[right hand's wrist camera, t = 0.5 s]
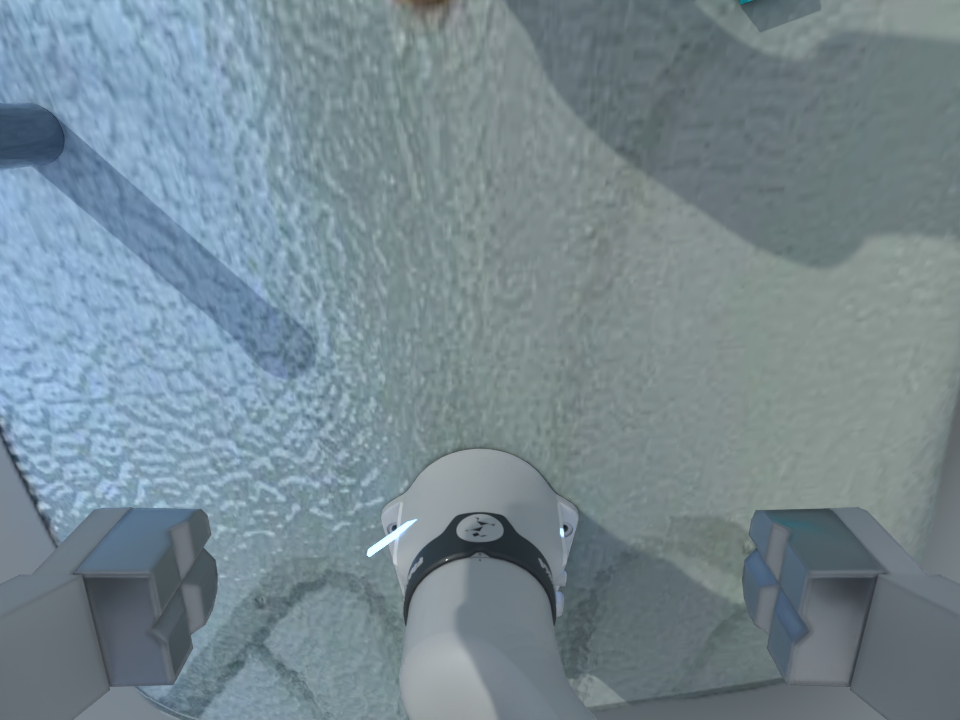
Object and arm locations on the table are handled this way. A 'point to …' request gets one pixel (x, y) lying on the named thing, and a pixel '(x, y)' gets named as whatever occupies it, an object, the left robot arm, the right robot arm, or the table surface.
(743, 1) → the decorative ornament
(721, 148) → the table surface
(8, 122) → the jar
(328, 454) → the table surface
